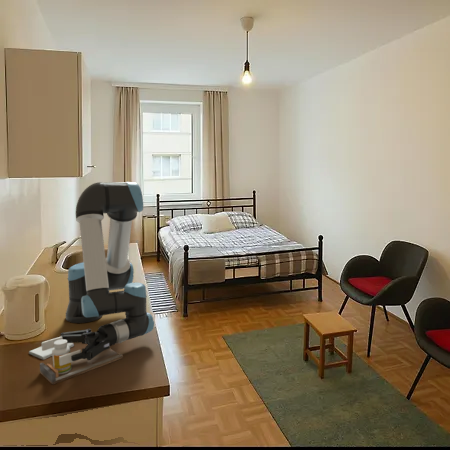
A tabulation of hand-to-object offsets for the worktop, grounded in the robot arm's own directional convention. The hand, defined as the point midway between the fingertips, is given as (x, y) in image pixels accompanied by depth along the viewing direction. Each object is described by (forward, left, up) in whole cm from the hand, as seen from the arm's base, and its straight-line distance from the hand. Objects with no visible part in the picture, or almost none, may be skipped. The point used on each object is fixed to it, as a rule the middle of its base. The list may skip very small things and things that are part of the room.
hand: (50, 353), depth 125 cm
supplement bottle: (0, +3, -7) cm, 8 cm away
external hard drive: (-18, +7, -8) cm, 22 cm away
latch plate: (0, 0, -7) cm, 7 cm away
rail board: (0, +10, -8) cm, 13 cm away
